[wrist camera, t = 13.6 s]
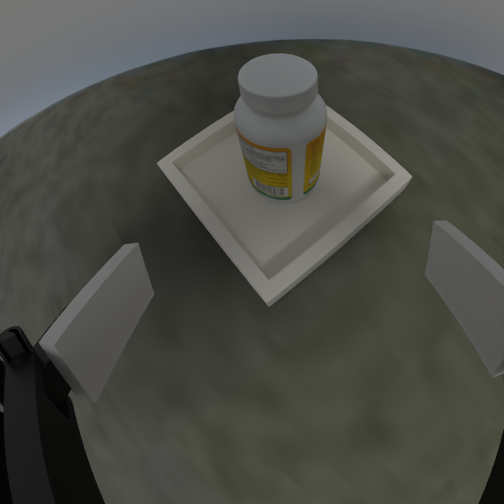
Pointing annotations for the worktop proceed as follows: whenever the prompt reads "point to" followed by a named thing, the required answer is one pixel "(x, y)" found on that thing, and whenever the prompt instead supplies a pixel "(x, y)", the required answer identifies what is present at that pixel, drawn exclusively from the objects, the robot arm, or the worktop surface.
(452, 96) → the worktop surface
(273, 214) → the tray
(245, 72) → the supplement bottle
